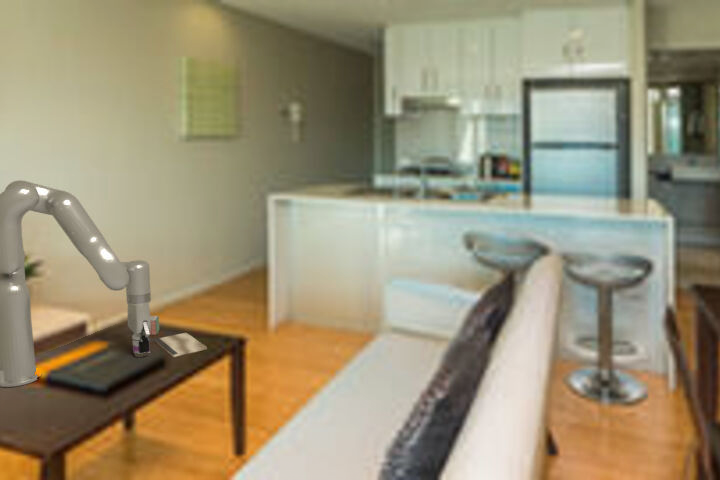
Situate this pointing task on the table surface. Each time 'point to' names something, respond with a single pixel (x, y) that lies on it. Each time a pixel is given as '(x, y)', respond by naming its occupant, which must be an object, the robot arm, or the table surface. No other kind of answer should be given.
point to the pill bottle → (137, 343)
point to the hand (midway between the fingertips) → (141, 348)
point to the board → (180, 344)
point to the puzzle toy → (154, 325)
